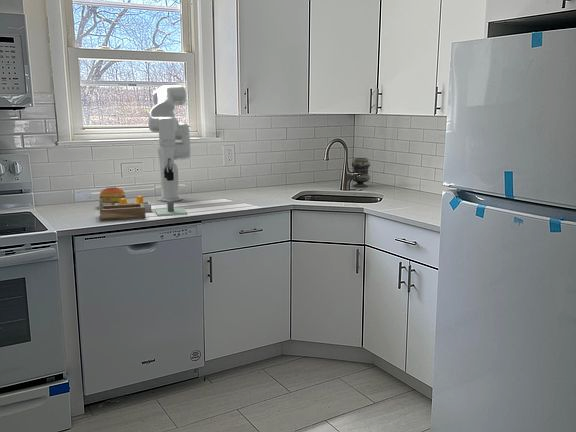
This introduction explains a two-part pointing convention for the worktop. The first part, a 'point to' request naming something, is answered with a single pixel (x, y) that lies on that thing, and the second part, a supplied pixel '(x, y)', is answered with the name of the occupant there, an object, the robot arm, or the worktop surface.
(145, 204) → the clamp corral
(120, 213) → the wooden box
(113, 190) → the burger
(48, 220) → the worktop surface
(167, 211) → the mint green slab
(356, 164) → the apothecary jar
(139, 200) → the pipe clamp
